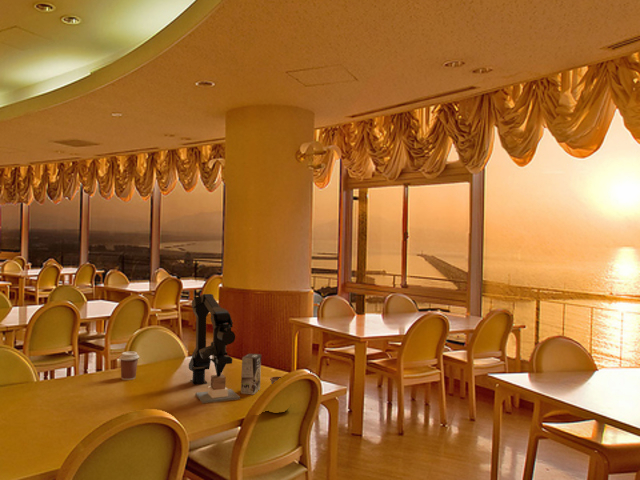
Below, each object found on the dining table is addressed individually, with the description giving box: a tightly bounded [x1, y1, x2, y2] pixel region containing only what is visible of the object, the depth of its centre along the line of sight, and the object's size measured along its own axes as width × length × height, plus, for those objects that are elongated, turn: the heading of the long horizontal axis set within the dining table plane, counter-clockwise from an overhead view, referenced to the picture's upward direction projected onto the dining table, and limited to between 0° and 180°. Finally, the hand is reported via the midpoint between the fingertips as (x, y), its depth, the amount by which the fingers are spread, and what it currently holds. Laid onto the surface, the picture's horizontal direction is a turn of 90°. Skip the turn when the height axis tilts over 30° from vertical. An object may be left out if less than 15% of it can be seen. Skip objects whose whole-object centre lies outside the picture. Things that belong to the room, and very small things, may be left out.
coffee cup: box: [118, 351, 140, 381], centre depth 246 cm, size 9×9×12 cm
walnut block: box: [210, 373, 227, 390], centre depth 222 cm, size 5×5×5 cm
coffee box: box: [240, 353, 262, 396], centre depth 232 cm, size 9×6×16 cm
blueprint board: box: [195, 385, 241, 404], centre depth 222 cm, size 12×16×4 cm
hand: (218, 376), depth 222 cm, fingers closed, pressing on walnut block
